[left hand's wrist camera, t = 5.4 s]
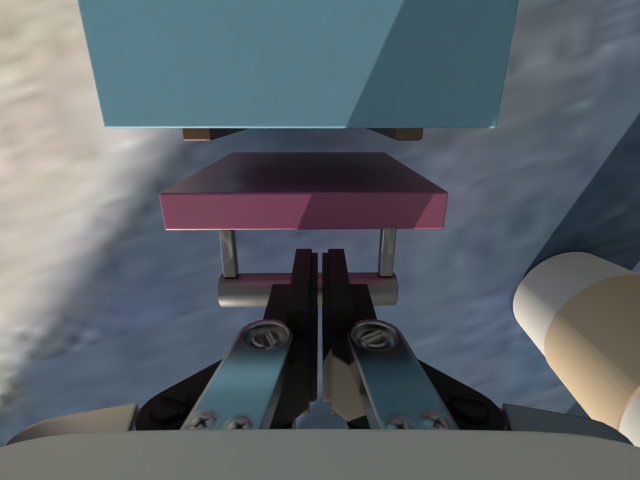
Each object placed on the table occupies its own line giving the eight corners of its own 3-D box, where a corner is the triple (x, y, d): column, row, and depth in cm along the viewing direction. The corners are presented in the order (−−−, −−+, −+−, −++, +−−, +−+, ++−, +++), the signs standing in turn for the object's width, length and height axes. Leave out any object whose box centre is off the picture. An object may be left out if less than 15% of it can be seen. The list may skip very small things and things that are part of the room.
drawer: (377, 255, 22) (425, 364, 13) (241, 256, 22) (187, 366, 12) (412, -251, 14) (612, -983, 5) (195, -255, 14) (-54, -1024, 4)
